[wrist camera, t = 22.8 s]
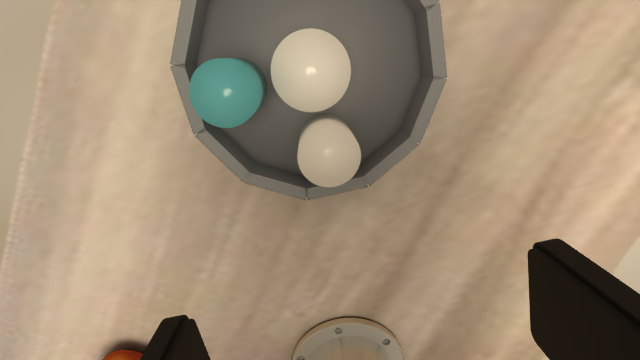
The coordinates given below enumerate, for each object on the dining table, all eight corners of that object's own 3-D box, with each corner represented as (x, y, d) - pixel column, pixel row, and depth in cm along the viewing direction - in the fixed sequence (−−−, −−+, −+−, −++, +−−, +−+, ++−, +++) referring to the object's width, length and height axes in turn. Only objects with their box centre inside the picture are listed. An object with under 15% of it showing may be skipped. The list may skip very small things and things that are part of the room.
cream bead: (355, 158, 32) (365, 179, 26) (305, 169, 32) (305, 193, 27) (346, 107, 31) (354, 119, 25) (293, 119, 31) (290, 133, 25)
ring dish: (442, 157, 33) (459, 170, 30) (229, 204, 34) (219, 222, 30) (414, -102, 27) (431, -128, 23) (150, -37, 27) (125, -52, 24)
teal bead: (273, 108, 30) (265, 120, 25) (221, 120, 31) (201, 134, 25) (259, 52, 29) (247, 50, 23) (204, 64, 29) (179, 66, 23)
